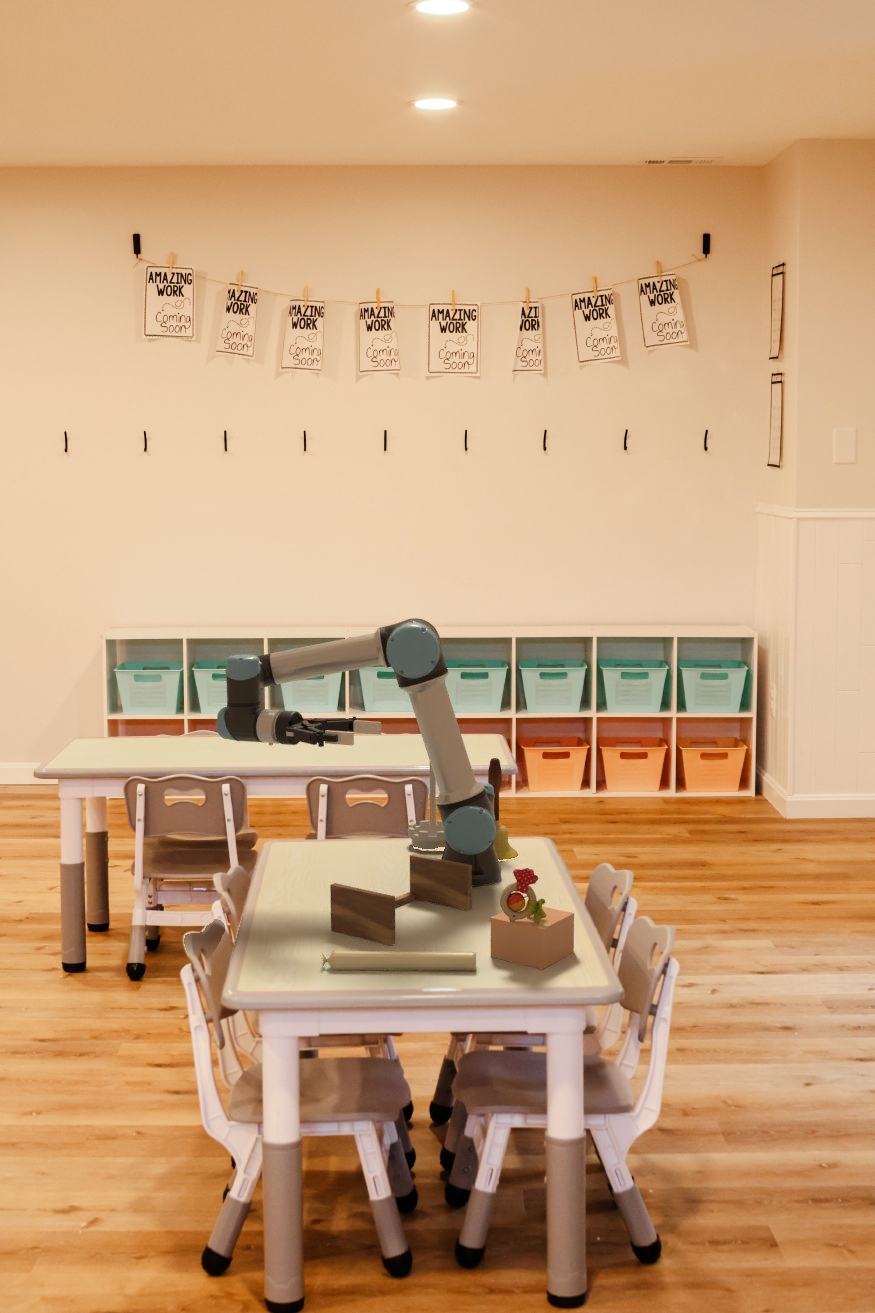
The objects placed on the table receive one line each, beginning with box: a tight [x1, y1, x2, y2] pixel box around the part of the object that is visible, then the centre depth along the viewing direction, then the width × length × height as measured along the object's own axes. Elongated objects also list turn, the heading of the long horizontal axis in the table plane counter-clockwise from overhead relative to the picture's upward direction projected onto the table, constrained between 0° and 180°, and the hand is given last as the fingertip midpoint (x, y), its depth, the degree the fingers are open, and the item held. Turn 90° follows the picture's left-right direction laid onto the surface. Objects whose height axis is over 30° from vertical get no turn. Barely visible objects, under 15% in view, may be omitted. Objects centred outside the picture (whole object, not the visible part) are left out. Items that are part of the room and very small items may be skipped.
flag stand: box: [407, 762, 445, 849], centre depth 339 cm, size 13×13×30 cm
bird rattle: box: [499, 867, 546, 922], centre depth 255 cm, size 6×11×9 cm
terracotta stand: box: [490, 902, 575, 970], centre depth 260 cm, size 12×12×8 cm
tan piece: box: [320, 950, 477, 972], centre depth 252 cm, size 4×30×4 cm, turn 88°
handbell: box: [487, 757, 519, 860], centre depth 330 cm, size 12×12×25 cm
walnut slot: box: [329, 853, 473, 947], centre depth 281 cm, size 29×16×10 cm, turn 144°
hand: (367, 733), depth 283 cm, fingers open, 13 cm apart
